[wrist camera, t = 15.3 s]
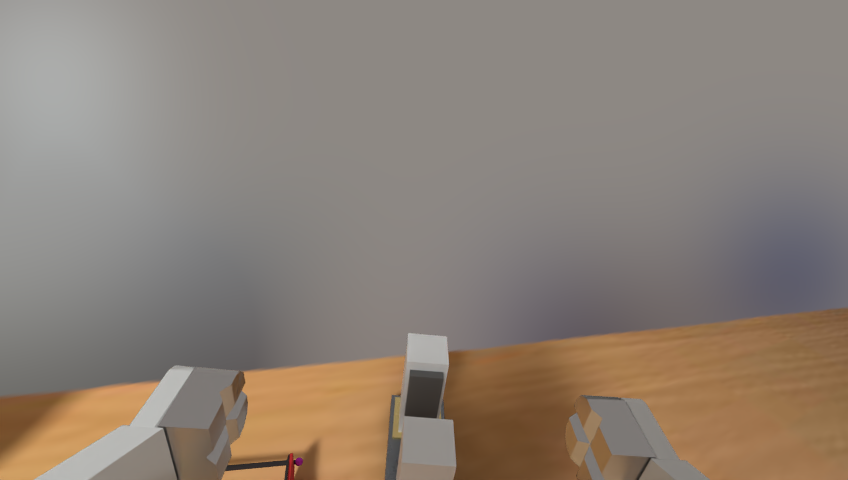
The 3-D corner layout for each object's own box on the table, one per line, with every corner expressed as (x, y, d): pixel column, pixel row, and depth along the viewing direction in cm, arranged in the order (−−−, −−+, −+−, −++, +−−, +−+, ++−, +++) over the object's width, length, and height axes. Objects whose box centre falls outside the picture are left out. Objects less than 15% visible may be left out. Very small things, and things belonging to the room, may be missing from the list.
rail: (449, 596, 33) (453, 583, 32) (375, 593, 33) (376, 579, 32) (441, 410, 49) (443, 397, 48) (390, 407, 49) (392, 393, 48)
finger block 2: (439, 541, 35) (456, 466, 30) (391, 538, 35) (401, 462, 30) (437, 484, 39) (452, 411, 34) (395, 481, 39) (404, 407, 34)
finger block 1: (436, 441, 43) (449, 371, 38) (397, 439, 43) (406, 367, 38) (434, 404, 47) (446, 336, 43) (399, 401, 47) (408, 333, 42)
